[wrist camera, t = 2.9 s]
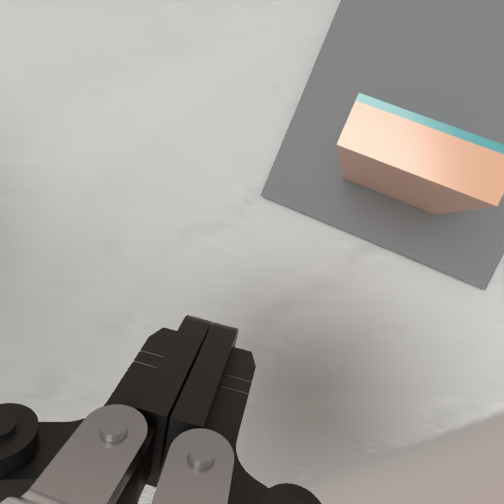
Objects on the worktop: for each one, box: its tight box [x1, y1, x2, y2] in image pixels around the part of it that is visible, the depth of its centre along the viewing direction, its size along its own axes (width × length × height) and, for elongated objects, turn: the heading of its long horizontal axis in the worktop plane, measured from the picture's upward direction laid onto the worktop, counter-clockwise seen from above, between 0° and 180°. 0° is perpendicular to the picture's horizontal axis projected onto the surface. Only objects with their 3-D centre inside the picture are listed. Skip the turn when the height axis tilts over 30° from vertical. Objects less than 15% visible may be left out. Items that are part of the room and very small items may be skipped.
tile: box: [337, 93, 504, 215], centre depth 22 cm, size 6×2×12 cm, turn 67°
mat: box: [261, 0, 504, 290], centre depth 27 cm, size 15×24×1 cm, turn 157°
